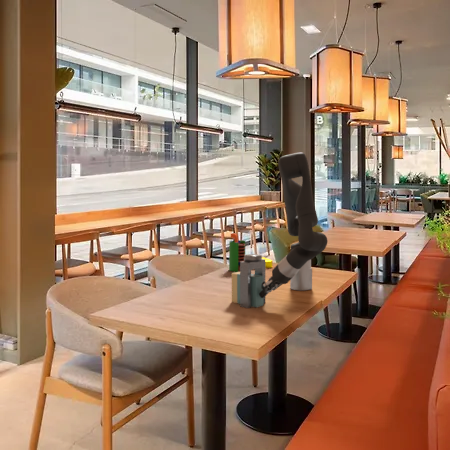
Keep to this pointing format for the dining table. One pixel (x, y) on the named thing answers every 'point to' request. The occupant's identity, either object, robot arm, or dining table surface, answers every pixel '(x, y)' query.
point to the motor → (236, 253)
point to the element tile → (268, 263)
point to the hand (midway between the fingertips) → (261, 295)
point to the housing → (245, 276)
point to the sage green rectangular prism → (255, 289)
